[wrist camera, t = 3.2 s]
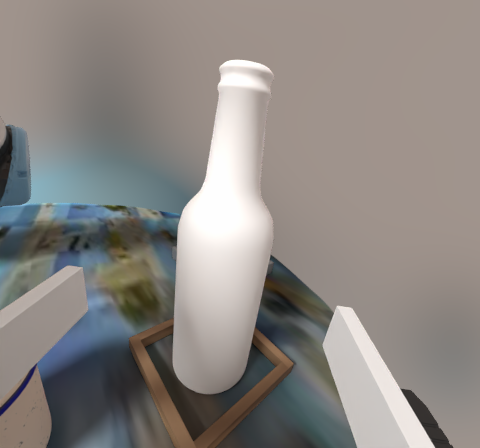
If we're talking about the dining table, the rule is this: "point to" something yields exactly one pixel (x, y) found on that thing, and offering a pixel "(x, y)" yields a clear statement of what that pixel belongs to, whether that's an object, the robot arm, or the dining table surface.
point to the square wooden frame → (229, 420)
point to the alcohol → (225, 240)
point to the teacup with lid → (25, 414)
